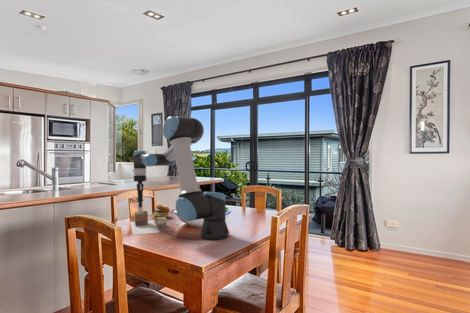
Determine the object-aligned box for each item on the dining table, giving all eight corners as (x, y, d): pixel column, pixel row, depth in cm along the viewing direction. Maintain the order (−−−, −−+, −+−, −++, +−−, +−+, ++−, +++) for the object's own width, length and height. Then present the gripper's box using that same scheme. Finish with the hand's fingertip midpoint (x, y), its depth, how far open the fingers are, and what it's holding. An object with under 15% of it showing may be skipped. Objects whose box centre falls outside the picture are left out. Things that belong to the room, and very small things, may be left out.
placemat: (159, 232, 164) (159, 232, 164) (132, 235, 159) (132, 234, 159) (153, 220, 194) (153, 220, 194) (130, 222, 188) (130, 222, 188)
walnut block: (147, 225, 180) (147, 213, 180) (135, 226, 178) (135, 214, 178) (146, 222, 187) (146, 211, 187) (134, 223, 184) (134, 212, 184)
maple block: (166, 226, 177) (167, 218, 177) (158, 227, 174) (158, 219, 174) (163, 225, 181) (163, 216, 181) (155, 225, 178) (155, 217, 179)
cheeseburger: (148, 217, 202) (151, 203, 203) (162, 219, 209) (165, 205, 210) (155, 220, 194) (159, 204, 196) (170, 221, 201) (173, 206, 203)
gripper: (133, 174, 195) (133, 210, 195) (134, 175, 183) (134, 214, 183) (145, 174, 198) (145, 209, 198) (147, 175, 185) (147, 213, 186)
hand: (140, 211), depth 190 cm, fingers closed
